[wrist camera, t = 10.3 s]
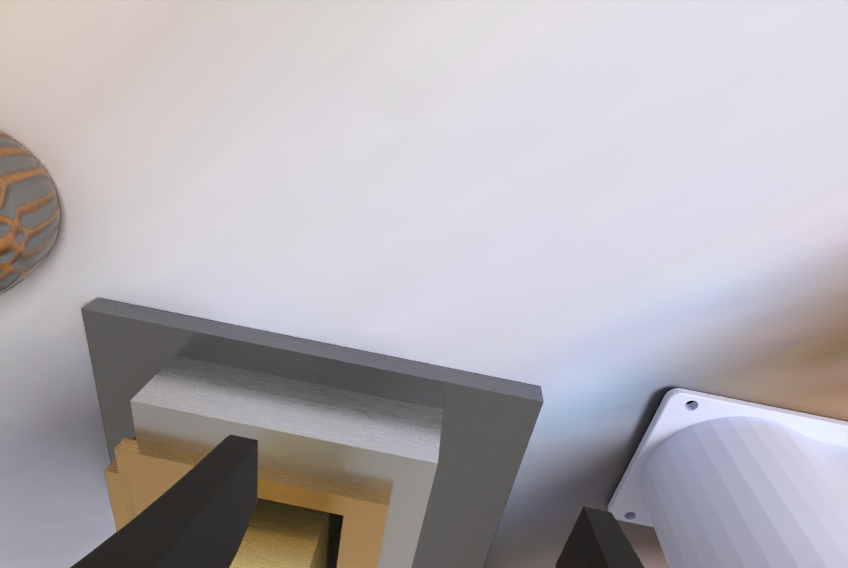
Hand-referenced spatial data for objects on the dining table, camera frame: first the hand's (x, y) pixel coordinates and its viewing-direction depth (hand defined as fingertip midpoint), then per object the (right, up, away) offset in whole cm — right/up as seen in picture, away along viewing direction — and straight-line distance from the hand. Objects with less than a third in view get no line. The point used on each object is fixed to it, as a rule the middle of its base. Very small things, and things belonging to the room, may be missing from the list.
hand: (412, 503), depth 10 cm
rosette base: (-6, -4, +14) cm, 16 cm away
